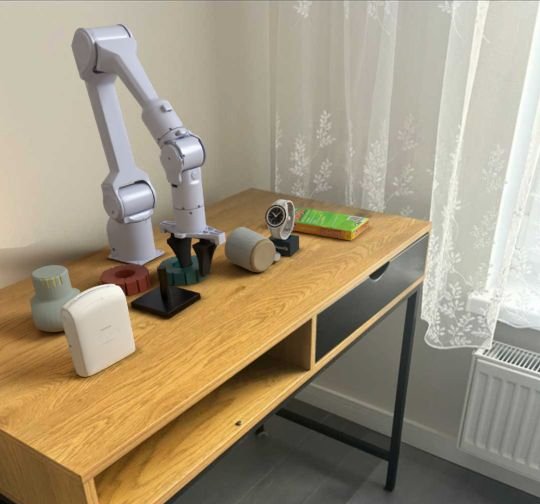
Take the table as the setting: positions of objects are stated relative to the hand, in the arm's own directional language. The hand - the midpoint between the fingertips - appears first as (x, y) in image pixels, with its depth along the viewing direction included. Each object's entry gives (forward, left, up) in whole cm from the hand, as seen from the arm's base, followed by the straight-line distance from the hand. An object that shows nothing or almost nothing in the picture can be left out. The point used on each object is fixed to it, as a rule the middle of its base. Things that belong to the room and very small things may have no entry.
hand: (196, 272), depth 120 cm
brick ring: (-10, -9, -1) cm, 14 cm away
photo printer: (+7, -31, -2) cm, 32 cm away
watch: (+8, +20, -2) cm, 21 cm away
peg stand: (+2, -11, -1) cm, 11 cm away
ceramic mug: (+7, +11, -2) cm, 13 cm away
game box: (+8, +36, -2) cm, 37 cm away
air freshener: (-9, -26, -2) cm, 28 cm away
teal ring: (-3, 0, -1) cm, 4 cm away
